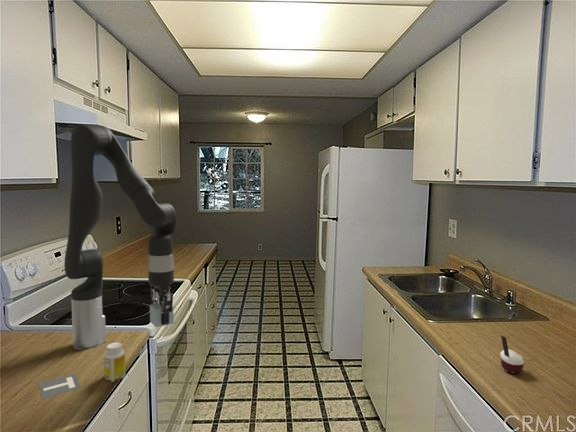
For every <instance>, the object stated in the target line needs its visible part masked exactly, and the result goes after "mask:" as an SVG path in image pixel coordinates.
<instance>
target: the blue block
mask: <svg viewBox="0 0 576 432" xmlns="http://www.w3.org/2000/svg"><path fill="white" fill-rule="evenodd" d="M166 309H167V306H166ZM174 319H175V318H174V306H173V305H172V312H169V324H166V325H162V324H161V308H160V306H159V305H158V303H157V304H154V303H151V304H149V322H150V323H151V324H152V325H153V326H154V327H155V328H159V327H163V326H169V325H173V324H174Z"/></svg>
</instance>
